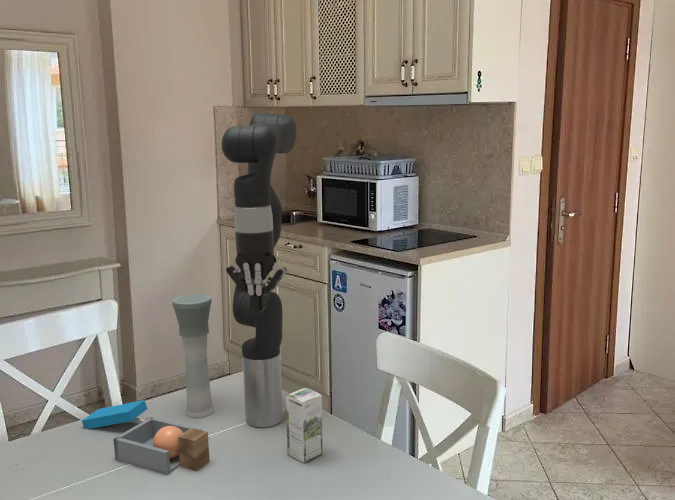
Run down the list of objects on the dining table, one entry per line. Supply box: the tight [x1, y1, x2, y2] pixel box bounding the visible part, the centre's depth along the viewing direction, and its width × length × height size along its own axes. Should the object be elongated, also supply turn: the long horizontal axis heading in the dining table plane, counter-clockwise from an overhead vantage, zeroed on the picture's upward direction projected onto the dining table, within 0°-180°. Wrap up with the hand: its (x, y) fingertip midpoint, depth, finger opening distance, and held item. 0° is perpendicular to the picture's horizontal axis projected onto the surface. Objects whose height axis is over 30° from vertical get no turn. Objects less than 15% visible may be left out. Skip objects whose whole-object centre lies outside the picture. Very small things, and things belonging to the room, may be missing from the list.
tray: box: [112, 416, 203, 475], centre depth 152 cm, size 15×12×5 cm
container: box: [171, 293, 215, 419], centre depth 171 cm, size 10×10×30 cm
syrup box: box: [285, 387, 324, 464], centre depth 149 cm, size 6×6×14 cm
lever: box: [81, 399, 152, 430], centre depth 167 cm, size 7×7×18 cm
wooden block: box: [178, 428, 211, 472], centre depth 147 cm, size 4×4×7 cm
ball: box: [153, 426, 183, 458], centre depth 150 cm, size 7×7×7 cm
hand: (258, 311), depth 138 cm, fingers closed
